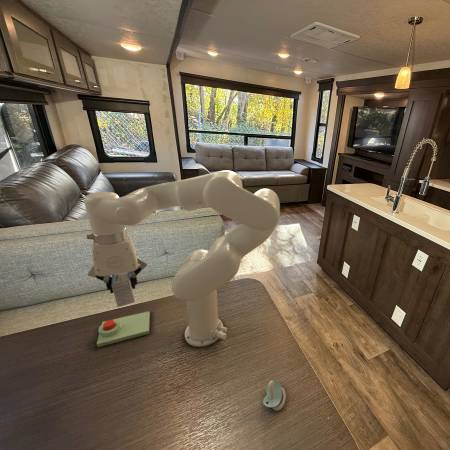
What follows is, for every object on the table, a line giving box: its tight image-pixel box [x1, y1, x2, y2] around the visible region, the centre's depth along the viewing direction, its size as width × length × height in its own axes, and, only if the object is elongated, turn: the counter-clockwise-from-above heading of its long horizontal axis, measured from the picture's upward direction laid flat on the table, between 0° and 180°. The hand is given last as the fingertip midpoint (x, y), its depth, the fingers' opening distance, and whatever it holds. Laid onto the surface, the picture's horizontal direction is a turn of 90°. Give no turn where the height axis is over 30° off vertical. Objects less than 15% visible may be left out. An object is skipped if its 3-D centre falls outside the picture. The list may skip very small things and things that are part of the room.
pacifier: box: [262, 379, 287, 411], centre depth 67 cm, size 7×6×6 cm
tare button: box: [103, 319, 115, 331], centre depth 82 cm, size 3×3×2 cm
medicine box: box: [111, 272, 135, 308], centre depth 76 cm, size 8×4×9 cm, turn 34°
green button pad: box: [96, 311, 151, 348], centre depth 84 cm, size 14×10×3 cm
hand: (123, 288), depth 76 cm, fingers closed on medicine box, 4 cm apart
